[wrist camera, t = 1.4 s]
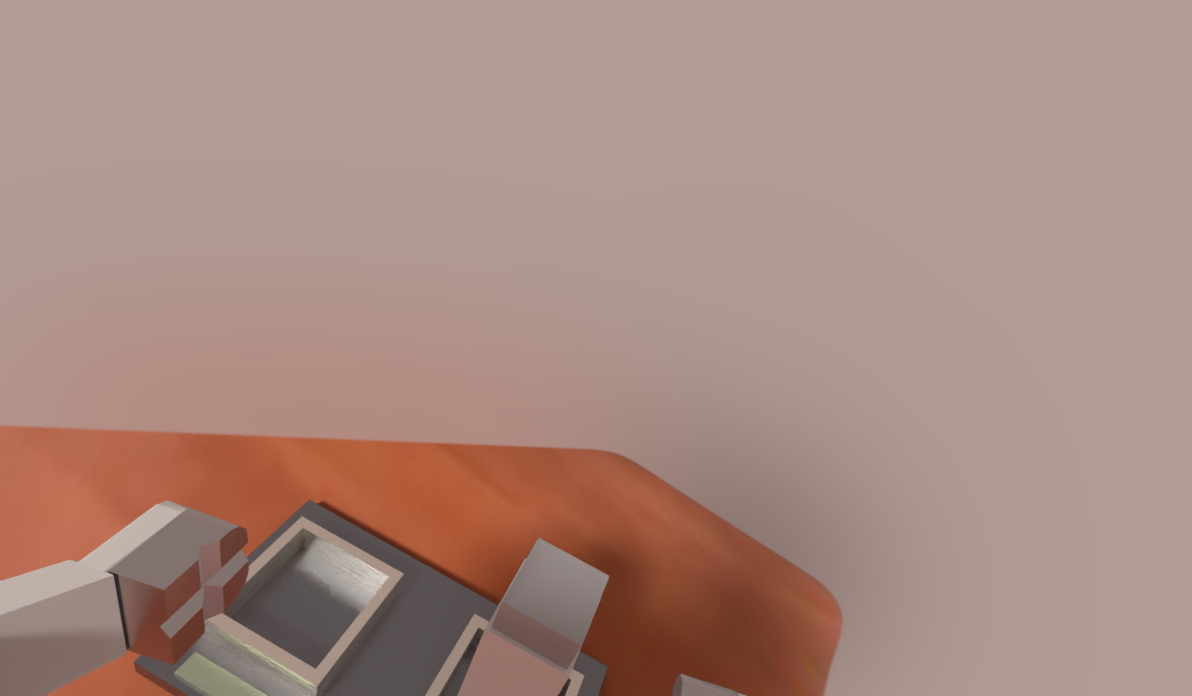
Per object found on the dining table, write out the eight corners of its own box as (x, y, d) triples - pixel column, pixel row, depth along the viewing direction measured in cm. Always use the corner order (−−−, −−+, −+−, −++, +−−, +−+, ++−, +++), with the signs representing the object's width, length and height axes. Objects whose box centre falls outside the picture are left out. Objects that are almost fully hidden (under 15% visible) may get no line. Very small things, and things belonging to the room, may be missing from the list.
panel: (136, 671, 30) (129, 641, 29) (308, 509, 40) (311, 479, 39) (520, 909, 28) (537, 892, 26) (603, 674, 38) (619, 651, 36)
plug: (440, 737, 31) (495, 602, 24) (484, 656, 35) (543, 519, 28) (507, 777, 31) (584, 652, 24) (544, 690, 35) (620, 561, 28)
